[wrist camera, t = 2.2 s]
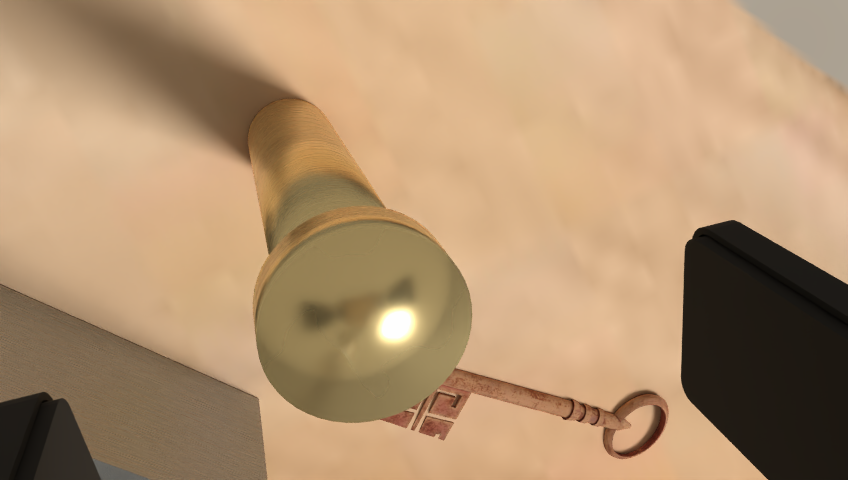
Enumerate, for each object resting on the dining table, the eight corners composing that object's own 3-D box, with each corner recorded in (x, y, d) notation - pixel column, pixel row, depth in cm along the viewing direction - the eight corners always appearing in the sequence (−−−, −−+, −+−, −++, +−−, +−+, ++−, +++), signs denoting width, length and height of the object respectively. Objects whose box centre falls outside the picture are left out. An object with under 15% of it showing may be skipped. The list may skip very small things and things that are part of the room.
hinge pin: (307, 214, 27) (392, 451, 14) (210, 157, 25) (212, 371, 13) (368, 124, 26) (512, 293, 14) (273, 60, 25) (340, 186, 12)
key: (350, 424, 32) (616, 485, 38) (353, 437, 31) (624, 498, 37) (407, 315, 30) (676, 397, 36) (411, 327, 29) (686, 409, 35)
